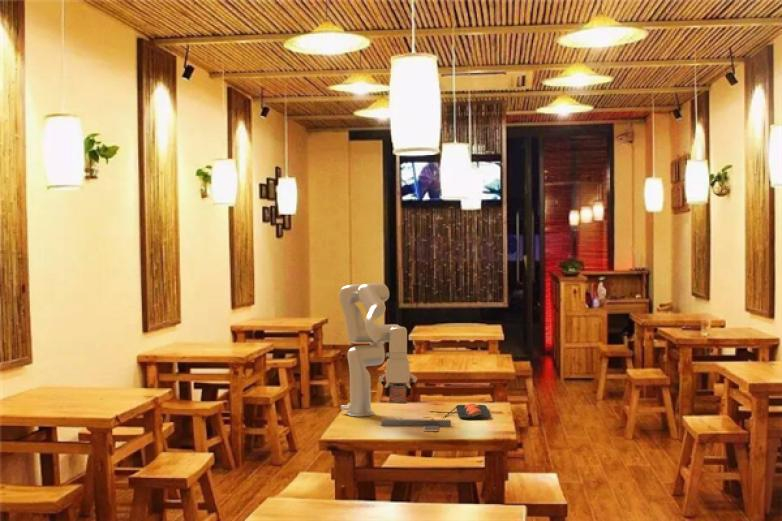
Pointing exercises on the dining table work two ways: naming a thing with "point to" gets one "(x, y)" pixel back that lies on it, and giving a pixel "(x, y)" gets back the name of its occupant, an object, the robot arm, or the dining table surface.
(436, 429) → the marked pad
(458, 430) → the dining table surface
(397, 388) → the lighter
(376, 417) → the dining table surface
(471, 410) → the sushi plate
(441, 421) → the rail
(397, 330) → the robot arm
